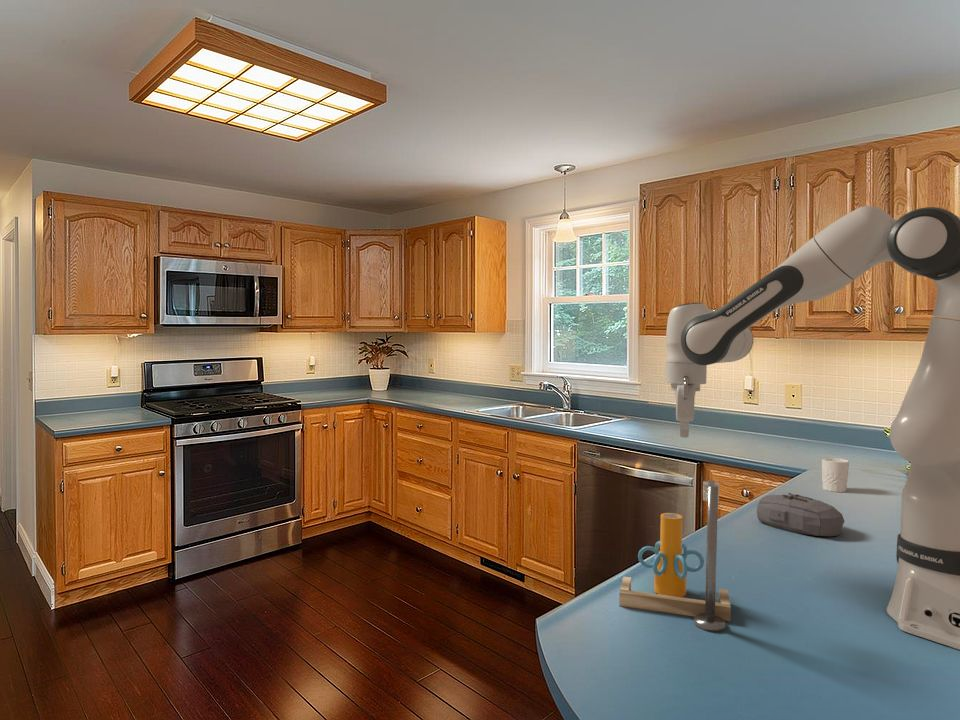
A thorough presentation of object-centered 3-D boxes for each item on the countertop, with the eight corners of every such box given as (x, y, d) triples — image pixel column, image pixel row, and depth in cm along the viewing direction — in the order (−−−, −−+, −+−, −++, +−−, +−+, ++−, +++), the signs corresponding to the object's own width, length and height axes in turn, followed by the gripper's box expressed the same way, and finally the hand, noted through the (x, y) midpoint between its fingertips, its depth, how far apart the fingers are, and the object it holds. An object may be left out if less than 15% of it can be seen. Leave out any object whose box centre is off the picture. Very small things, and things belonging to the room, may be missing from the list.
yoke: (623, 589, 121) (623, 576, 121) (727, 602, 115) (727, 589, 115) (619, 605, 113) (619, 592, 113) (730, 621, 107) (730, 607, 107)
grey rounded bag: (749, 524, 165) (829, 544, 150) (750, 493, 165) (830, 510, 149) (776, 514, 175) (854, 532, 159) (777, 485, 174) (855, 500, 159)
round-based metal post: (693, 603, 115) (696, 475, 114) (722, 607, 113) (725, 477, 112) (694, 629, 104) (698, 488, 104) (726, 633, 103) (730, 491, 102)
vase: (661, 576, 128) (663, 504, 127) (710, 591, 120) (711, 515, 119) (628, 592, 119) (630, 516, 119) (678, 610, 112) (680, 528, 111)
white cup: (848, 489, 205) (849, 459, 204) (847, 494, 198) (848, 463, 198) (821, 485, 209) (822, 456, 209) (819, 490, 202) (820, 460, 202)
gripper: (701, 378, 128) (700, 444, 128) (699, 373, 147) (697, 431, 148) (670, 377, 130) (668, 443, 130) (671, 372, 149) (670, 429, 150)
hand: (684, 436), depth 139 cm, fingers closed
